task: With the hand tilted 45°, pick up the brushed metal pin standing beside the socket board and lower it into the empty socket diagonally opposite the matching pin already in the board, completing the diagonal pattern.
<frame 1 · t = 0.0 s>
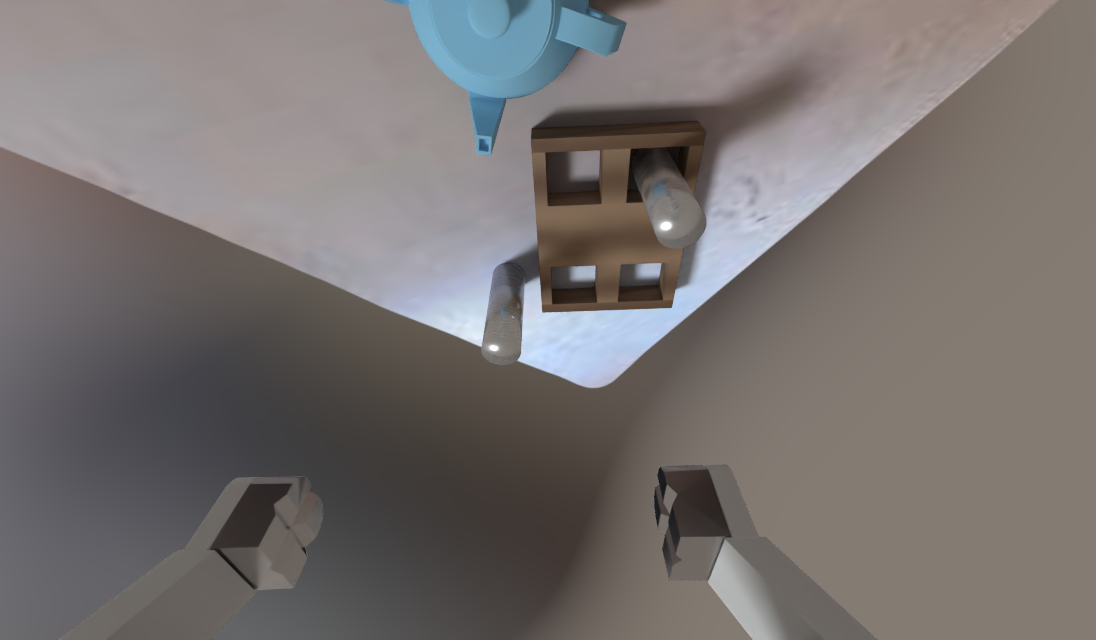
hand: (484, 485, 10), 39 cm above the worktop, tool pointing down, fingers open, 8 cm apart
socket board: (608, 222, 49), on the worktop
pin: (508, 276, 54), on the worktop
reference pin: (650, 163, 44), resting in socket board
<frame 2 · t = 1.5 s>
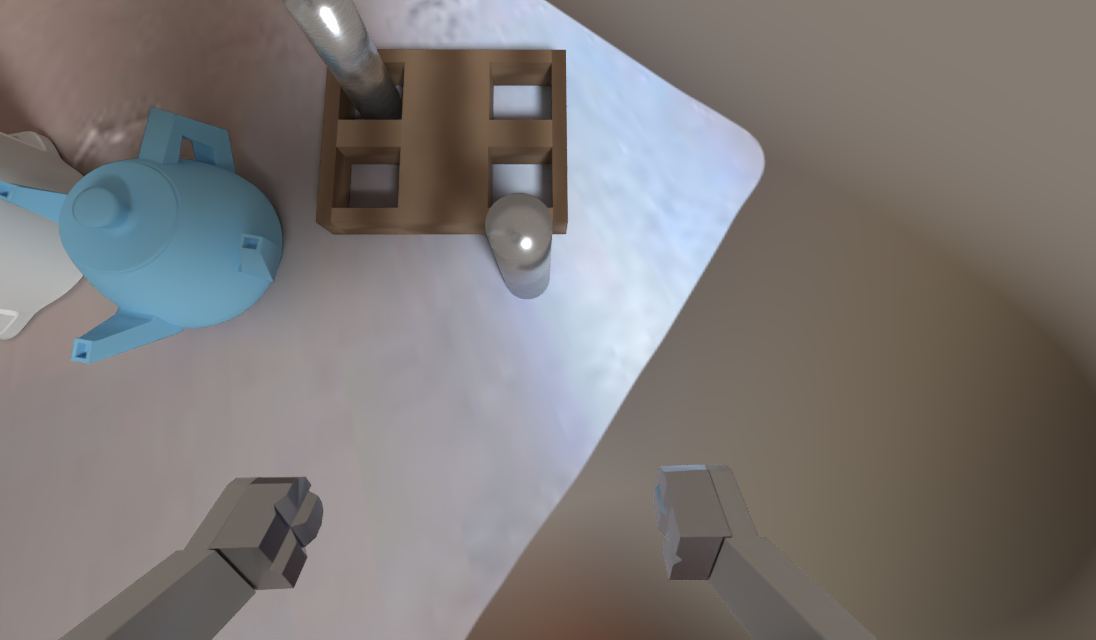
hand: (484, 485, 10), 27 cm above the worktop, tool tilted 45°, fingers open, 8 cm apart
teapot: (216, 257, 39), on the worktop
socket board: (452, 151, 40), on the worktop
pin: (527, 277, 39), on the worktop
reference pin: (384, 112, 41), resting in socket board
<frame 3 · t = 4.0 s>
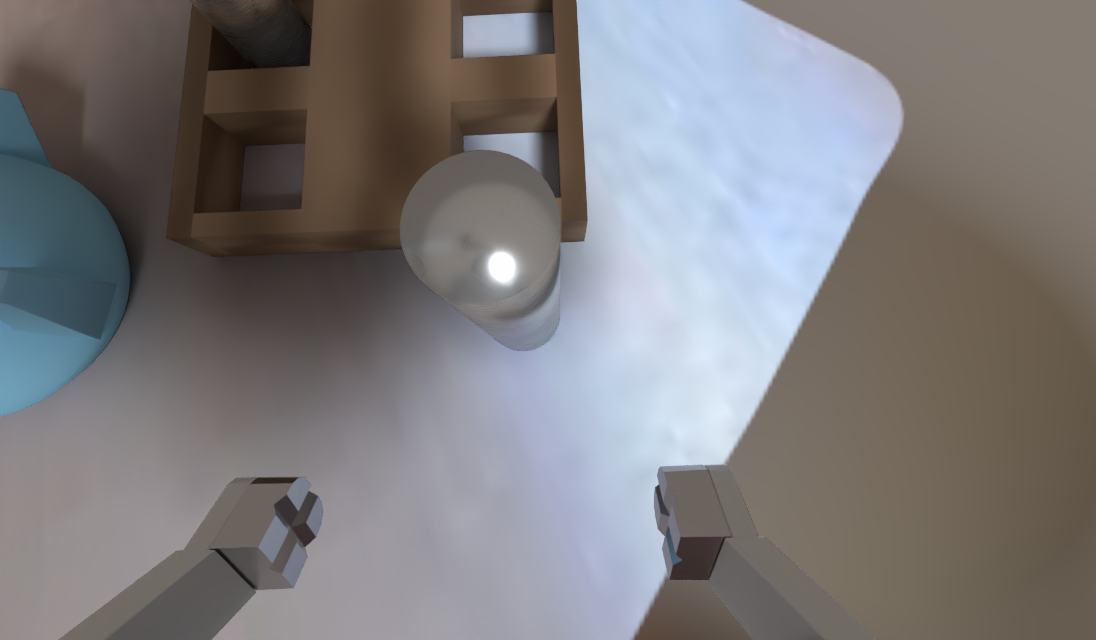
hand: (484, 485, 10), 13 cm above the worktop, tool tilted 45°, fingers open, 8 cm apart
teapot: (34, 299, 25), on the worktop
socket board: (400, 119, 26), on the worktop
pin: (523, 314, 24), on the worktop
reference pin: (295, 64, 26), resting in socket board
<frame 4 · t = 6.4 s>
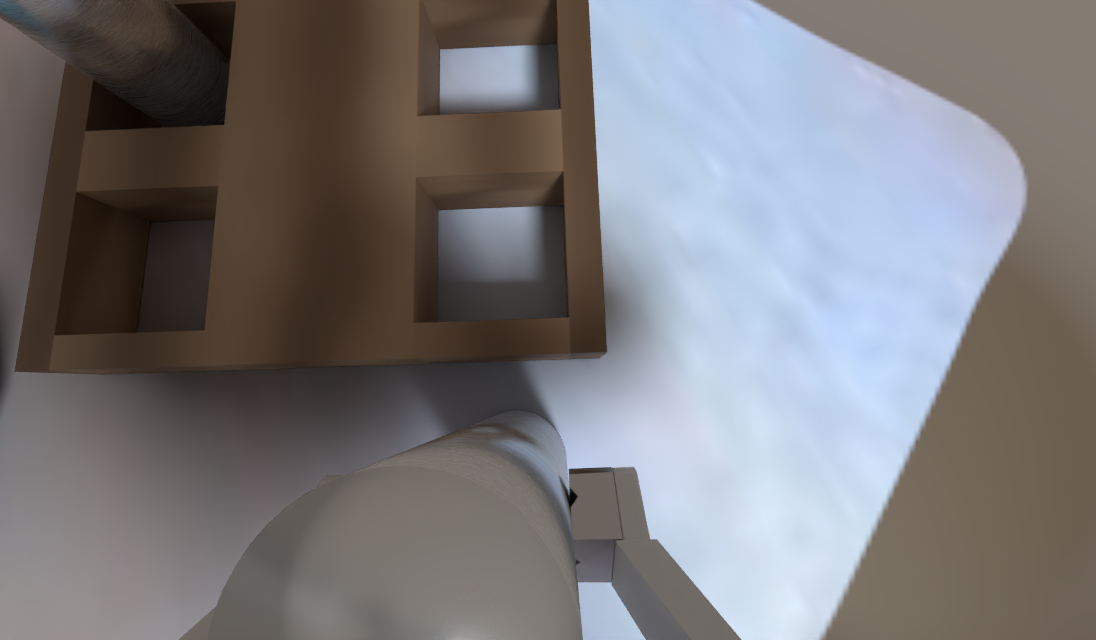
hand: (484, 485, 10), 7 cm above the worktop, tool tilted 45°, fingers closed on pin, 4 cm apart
socket board: (355, 187, 19), on the worktop
pin: (516, 461, 17), on the worktop, touching gripper
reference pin: (221, 112, 20), resting in socket board
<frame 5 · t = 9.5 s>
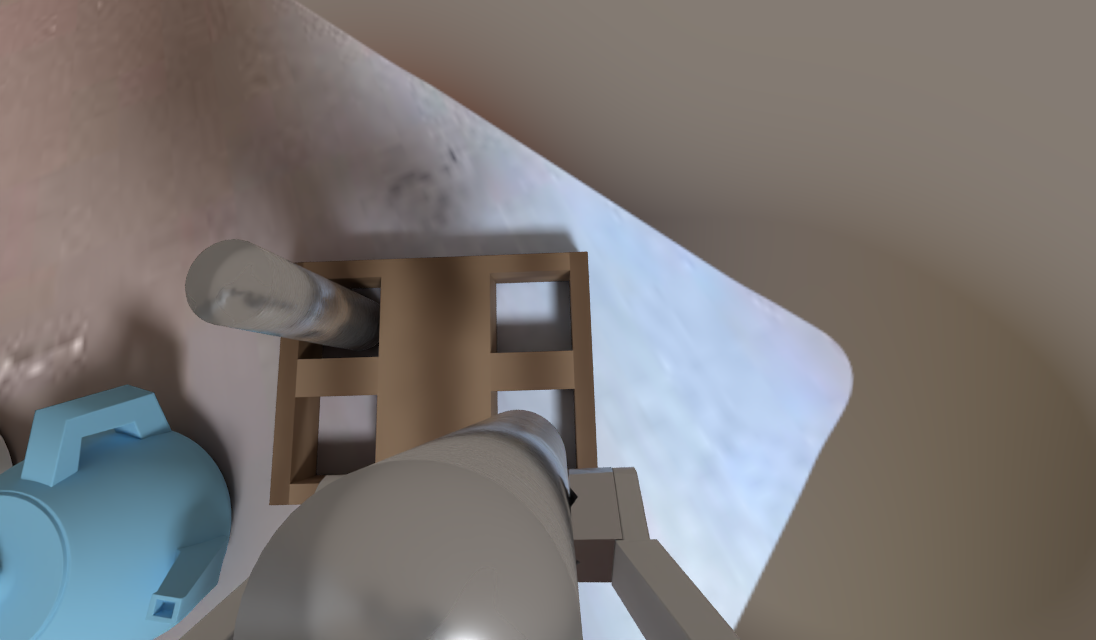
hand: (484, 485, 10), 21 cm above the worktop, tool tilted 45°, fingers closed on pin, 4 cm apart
teapot: (153, 526, 31), on the worktop
socket board: (445, 375, 32), on the worktop
pin: (517, 459, 18), point 13 cm above the worktop, touching gripper
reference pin: (360, 324, 32), resting in socket board
when the fingers open (8 cm above the worktop, at t = 12.7 s): pin stays where it is, resting in socket board.
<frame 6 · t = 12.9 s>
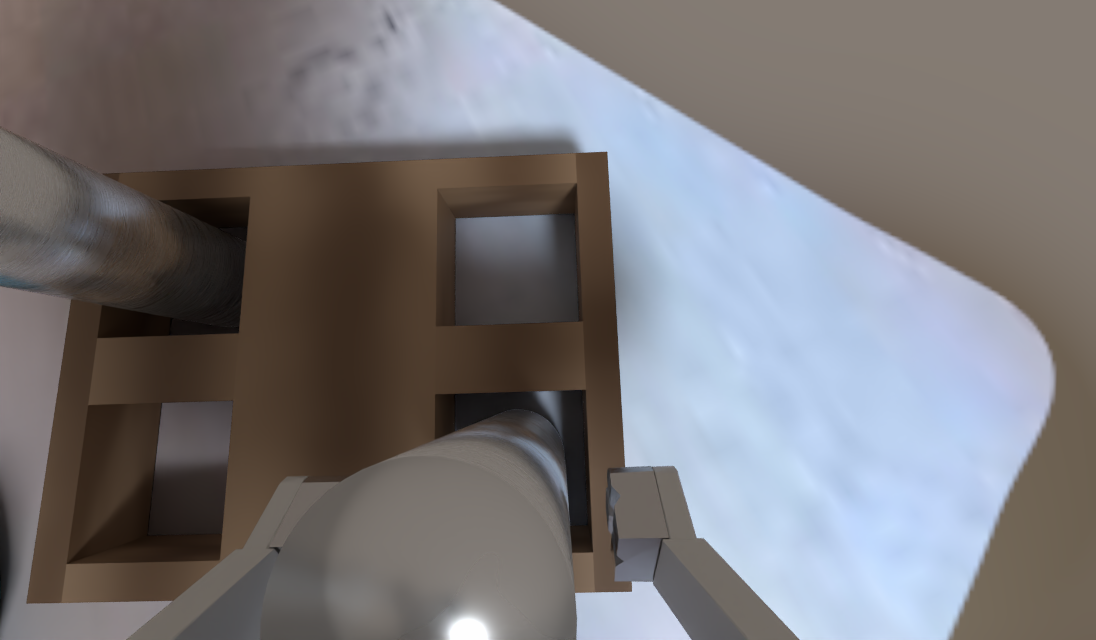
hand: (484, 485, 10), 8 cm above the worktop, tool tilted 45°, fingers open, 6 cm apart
socket board: (370, 367, 19), on the worktop
pin: (517, 457, 18), resting in socket board
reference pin: (233, 284, 20), resting in socket board
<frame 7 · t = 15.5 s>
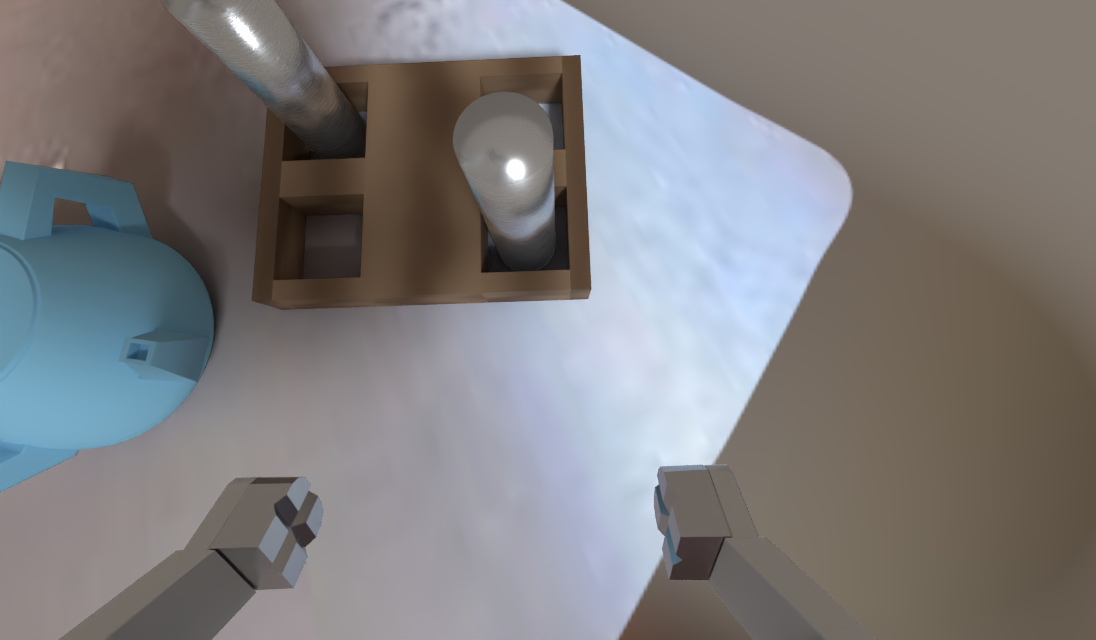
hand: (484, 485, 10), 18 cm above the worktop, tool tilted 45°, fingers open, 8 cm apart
teapot: (133, 343, 30), on the worktop
socket board: (435, 194, 31), on the worktop
pin: (526, 244, 30), resting in socket board
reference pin: (347, 146, 32), resting in socket board
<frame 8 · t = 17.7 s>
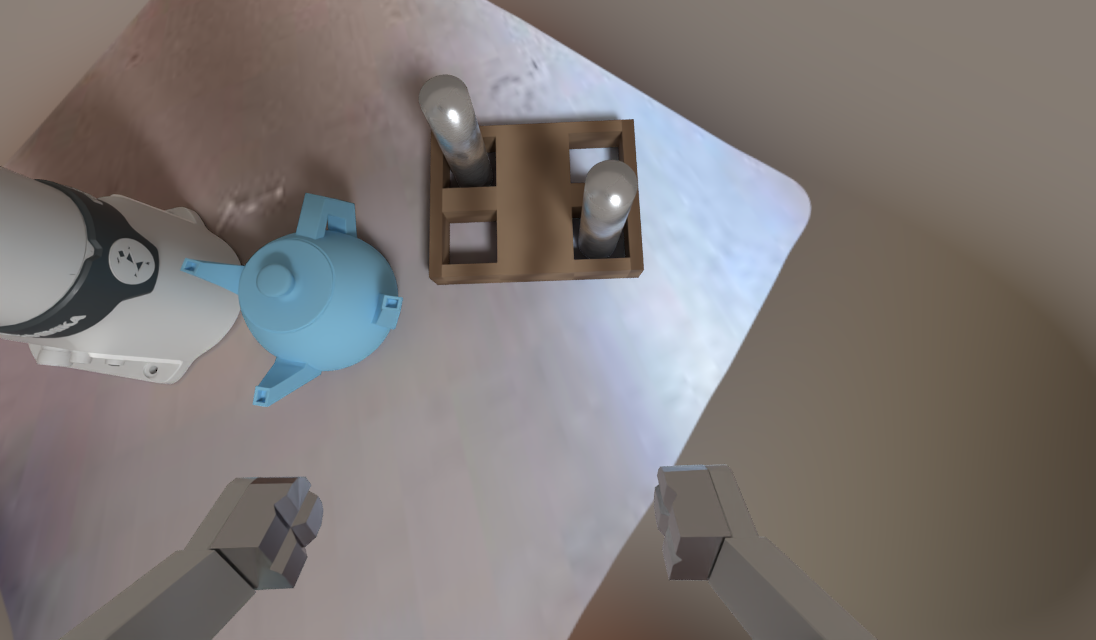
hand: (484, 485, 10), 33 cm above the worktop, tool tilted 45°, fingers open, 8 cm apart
teapot: (339, 307, 46), on the worktop
socket board: (535, 208, 46), on the worktop
pin: (597, 242, 46), resting in socket board
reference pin: (475, 176, 47), resting in socket board
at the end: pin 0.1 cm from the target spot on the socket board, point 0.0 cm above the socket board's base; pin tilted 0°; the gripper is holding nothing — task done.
